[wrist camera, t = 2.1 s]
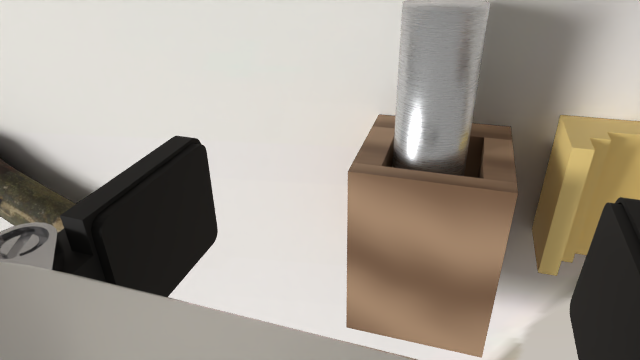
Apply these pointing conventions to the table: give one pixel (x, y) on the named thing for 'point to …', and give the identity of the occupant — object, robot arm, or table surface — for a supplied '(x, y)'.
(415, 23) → the steel axle
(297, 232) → the table surface
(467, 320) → the walnut block
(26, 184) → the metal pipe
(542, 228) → the ochre V-block
